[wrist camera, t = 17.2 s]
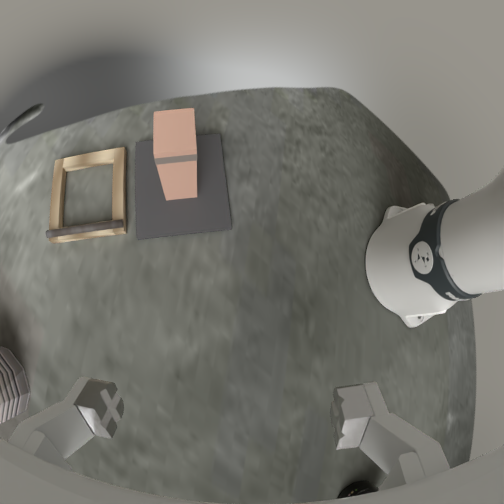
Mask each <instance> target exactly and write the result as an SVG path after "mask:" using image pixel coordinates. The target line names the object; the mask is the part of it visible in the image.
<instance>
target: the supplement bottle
mask: <svg viewBox="0 0 504 504" xmlns="http://www.w3.org/2000/svg"><path fill="white" fill-rule="evenodd" d="M377 491H379V488H378V487H376V486H375V485H374V484H372V483H371V482H369V481H359V482H356V483H353V484H351V485H349V486H348V487H347V488H345V489H344V490H343V491H342V493H341V494H340V495H339V497H338V499H340V498H346V497H352V496H358V495H363V494H368V493H372V492H377Z"/></svg>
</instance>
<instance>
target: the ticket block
mask: <svg viewBox="0 0 504 504" xmlns="http://www.w3.org/2000/svg"><path fill="white" fill-rule="evenodd" d="M153 154H154V160H155V164H156V166H157V169H158V173H159V177H160V180H161V184H162V188H163V191H164V195H165V198H166V200H175V199H185V198H195V197H197V144H196V130H195V115H194V108H187V109H176V110H166V111H157V112H154V133H153Z"/></svg>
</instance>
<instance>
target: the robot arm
mask: <svg viewBox="0 0 504 504" xmlns="http://www.w3.org/2000/svg"><path fill="white" fill-rule="evenodd" d="M366 273H367V278H368V281H369V284H370V287H371V289H372V291H373V293H374V295H375V296H376V298H377V299H378V300H379V302H380V303H381V304H382V305H383V306H385V307H386V308H387V309H389V310H390V311H392V312H394V313H396V314H398V315H399V316H400V317H401V319H402V320H403V321H404V323H405V324H406V325H407V326H408V327H410V328H412V327H416V326H418V325H420V324H421V323H423V322H424V321H426V320H428V319H429V318H431V317H432V316H434V315H435V314H442V313H445V312H446V309H448V308H450V307H451V306H452V305H454V304H455V303H456V302H457V301H458V300H459V301H464V300H469V299H472V298H476V297H478V296H480V295H481V294H482V293H487V292H494V291H500V290H504V167H503V168H502V170H501V171H500V172H499V174H498V175H497V176H496V177H495V178H494V179H493V180H491V181H490V182H489V183H487V184H486V185H484V186H483V187H481V188H480V189H478V190H477V191H475V192H474V193H472V194H470V195H468V196H466V197H465V198H462V199H461V200H459V199H454V200H451V201H448V202H444V203H442V204H440V205H438V206H437V207H434V204H427V205H426V204H425V203H420V204H417V205H415V206H413V207H411V208H404V207H399V206H391V207H388V208H387V210H386V212H385V215H384V219H383V222H382V224H381V225H380V226H379V227H378V228H377V230H376V231H375V232H374V233H373V235H372V237H371V239H370V241H369V243H368V247H367V251H366ZM418 316H419V317H418ZM116 391H117V387H116V385H115V383H112V382H108V381H103V380H98V379H93V378H87V377H80V378H78V380H77V381H76V383H75V384H74V386H73V387H72V389H71V390H70V392H69V393H68V395H67V396H66V398H65V399H64V401H63V402H61V401H60V402H58V403H56V404H54V405H52V406H50V407H49V408H47V409H45V410H43V411H41V412H39V413H37V414H35V415H33V416H31V417H30V418H28V419H26V420H24V421H22V422H20V423H19V425H18V426H17V428H16V429H15V431H14V432H13V434H12V435H11V437H10V438H9V440H8V441H5V440H3V439H1V438H0V504H223V503H210V502H200V501H191V500H184V499H177V498H171V497H165V496H159V495H154V494H149V493H144V492H140V491H135V490H131V489H127V488H123V487H119V486H115V485H112V484H108V483H105V482H102V481H98V480H95V479H92V478H89V477H86V476H83V475H80V474H78V473H75V472H72V467H71V466H70V465H69V464H68V462H67V461H66V460H65V459H66V458H67V457H69V456H70V455H71V454H72V453H74V452H75V451H76V450H77V449H79V448H80V447H81V446H83V445H84V444H85V443H86V442H88V441H89V440H90V439H91V438H93V437H94V435H96V436H101V437H105V438H110V439H112V438H113V435H114V433H115V431H116V429H117V424H116V422H117V421H118V420H120V419H121V417H122V415H123V411H124V404H123V400H122V398H121V397H120V396H119V395H118V394H117V393H116ZM333 397H334V401H333V402H331V408H330V417H331V424H332V427H334V428H335V432H334V439H335V444H336V449H345V448H353V447H359V448H360V449H361V450H362V451H363V452H364V453H365V454H366V455H367V456H368V457H369V458H371V459H372V460H373V461H374V462H375V463H376V464H377V465H378V466H379V467H380V468H381V469H382V470H383V471H384V472H385V473H386V474H387V475H388V476H387V477H386V478H385V480H384V481H383V483H382V484H381V486H380V487H379V491H377V492H372V493H368V494H363V495H358V496H352V497H346V498H340V499H333V500H325V501H317V502H307V503H294V504H504V445H502V446H500V447H498V448H496V449H494V450H492V451H490V452H488V453H486V454H484V455H482V456H480V457H477V458H475V459H473V460H471V461H468V462H466V463H464V464H461V465H459V466H457V467H454V468H452V469H450V467H449V464H448V462H447V460H446V457H445V455H444V453H443V451H442V448H441V446H440V444H439V442H437V441H435V440H434V439H432V438H431V437H429V436H428V435H426V434H424V433H423V432H421V431H420V430H418V429H417V428H415V427H414V426H412V425H410V424H409V423H407V422H406V421H404V420H403V419H401V418H400V417H398V416H397V415H395V414H394V413H390V414H389V412H388V409H387V407H386V404H385V402H384V399H383V397H382V394H381V392H380V389H379V387H378V384H377V383H376V382H370V383H364V384H356V385H349V386H340V387H335V388H334V391H333Z"/></svg>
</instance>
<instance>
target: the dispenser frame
mask: <svg viewBox="0 0 504 504" xmlns="http://www.w3.org/2000/svg"><path fill="white" fill-rule="evenodd" d="M126 155H127V152H126V149H125V147H121V148H115V149H109V150H103V151H97V152H92V153H87V154H82V155H77V156H72V157H67V158H63V159H58V160H55V167H54V175H53V183H52V193H51V206H50V223H49V230H47V231H46V237H47V238H49V241H50V242H52V243H60V242H67V241H74V240H81V239H88V238H96V237H103V236H111V235H119V234H127V232H126ZM112 163H113V188H112V220H111V221H104V222H97V223H90V224H83V225H76V226H70V227H64V228H63V211H64V195H65V183H66V173H67V172H68V171H73V170H78V169H83V168H89V167H94V166H100V165H106V164H112Z"/></svg>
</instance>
